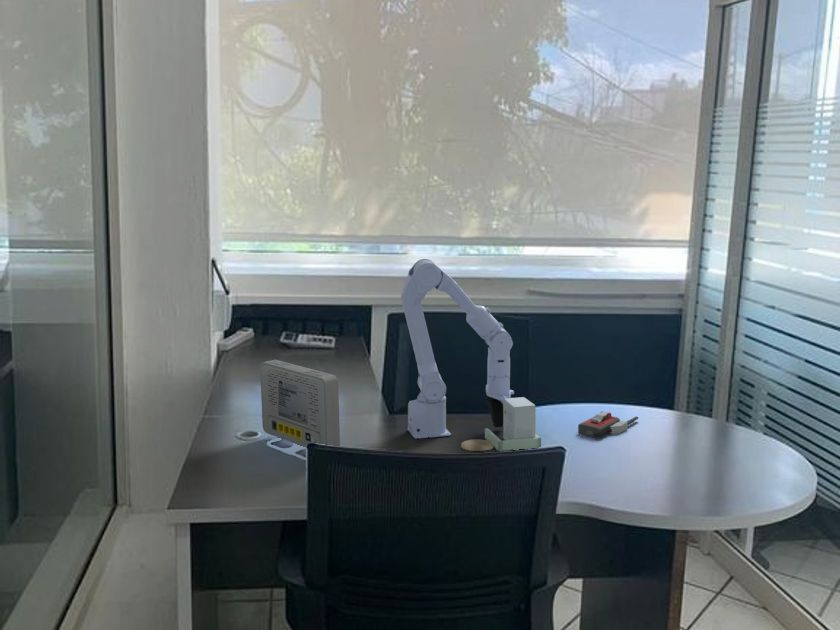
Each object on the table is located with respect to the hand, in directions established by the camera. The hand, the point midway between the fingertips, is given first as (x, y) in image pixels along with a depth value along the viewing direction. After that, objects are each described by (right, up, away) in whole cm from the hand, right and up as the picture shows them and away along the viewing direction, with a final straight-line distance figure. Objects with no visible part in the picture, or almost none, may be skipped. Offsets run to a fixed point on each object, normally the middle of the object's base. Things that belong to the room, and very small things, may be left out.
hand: (498, 426), depth 222 cm
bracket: (+2, -3, -9) cm, 10 cm away
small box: (+4, -3, -10) cm, 11 cm away
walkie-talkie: (+28, -1, +1) cm, 28 cm away
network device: (-49, -4, -13) cm, 51 cm away
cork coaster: (-6, -3, -12) cm, 14 cm away
